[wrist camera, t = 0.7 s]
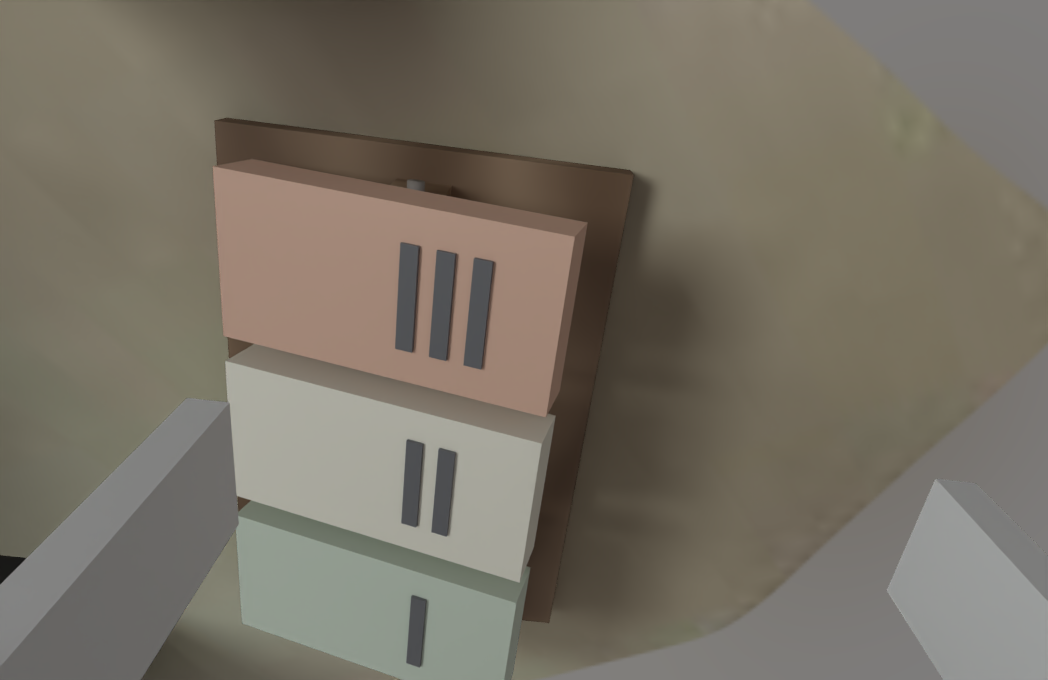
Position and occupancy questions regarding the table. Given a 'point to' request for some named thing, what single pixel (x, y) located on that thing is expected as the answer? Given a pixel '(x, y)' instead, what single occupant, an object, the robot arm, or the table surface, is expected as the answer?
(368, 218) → the tile
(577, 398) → the board
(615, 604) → the table surface
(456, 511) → the tile
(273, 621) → the tile
